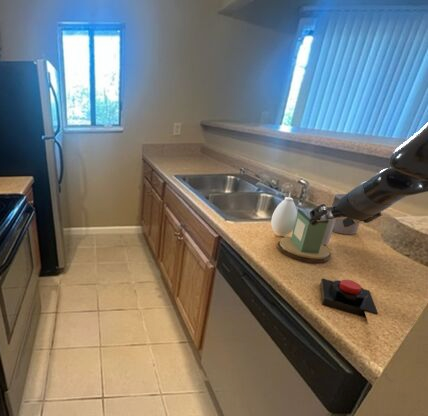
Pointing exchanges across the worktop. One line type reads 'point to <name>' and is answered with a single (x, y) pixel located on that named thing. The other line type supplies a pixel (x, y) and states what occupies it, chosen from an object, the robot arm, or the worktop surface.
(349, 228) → the pillar candle
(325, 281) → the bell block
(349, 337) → the worktop surface
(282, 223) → the sauce bottle
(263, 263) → the worktop surface
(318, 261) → the disc
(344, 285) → the bell button
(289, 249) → the tea box
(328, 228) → the can
